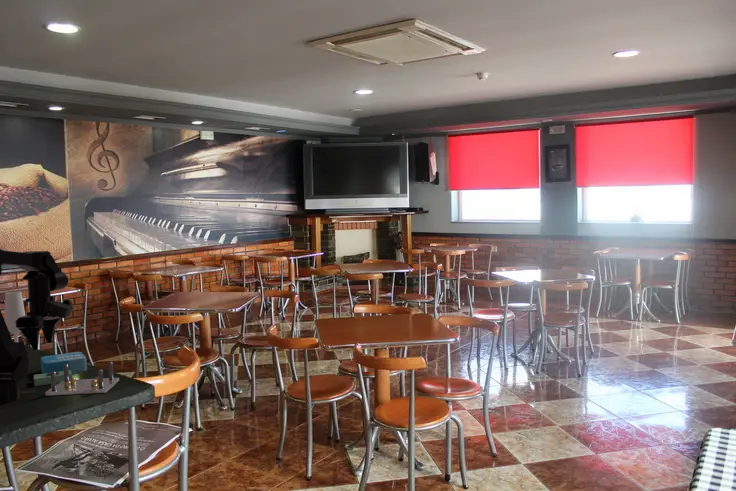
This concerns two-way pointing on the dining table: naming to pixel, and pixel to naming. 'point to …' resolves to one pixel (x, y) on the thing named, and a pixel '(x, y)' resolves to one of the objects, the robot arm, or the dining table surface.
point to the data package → (63, 362)
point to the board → (49, 378)
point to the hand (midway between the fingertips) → (42, 346)
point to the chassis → (82, 383)
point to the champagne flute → (13, 311)
